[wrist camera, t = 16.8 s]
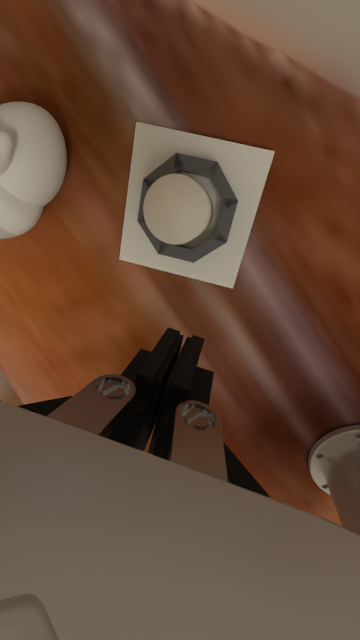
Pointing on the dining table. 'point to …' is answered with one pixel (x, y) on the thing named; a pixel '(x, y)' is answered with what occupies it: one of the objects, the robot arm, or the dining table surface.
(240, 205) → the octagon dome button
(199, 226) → the cream cap
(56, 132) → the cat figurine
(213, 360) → the dining table surface
